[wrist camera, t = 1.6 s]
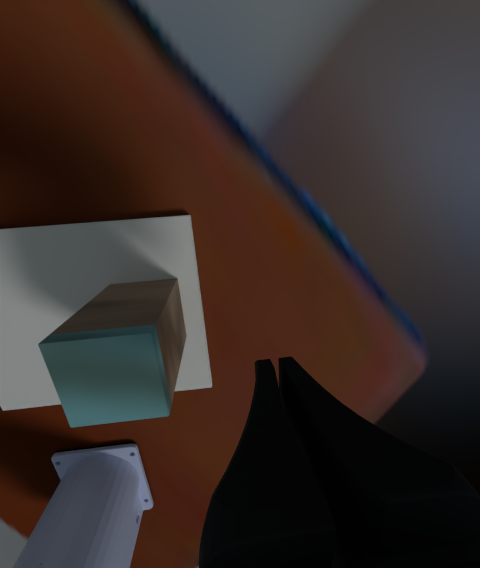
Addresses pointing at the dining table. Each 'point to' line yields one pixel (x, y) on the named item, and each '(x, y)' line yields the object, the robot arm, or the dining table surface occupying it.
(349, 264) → the dining table surface
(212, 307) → the dining table surface
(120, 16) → the dining table surface
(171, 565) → the dining table surface
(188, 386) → the mat
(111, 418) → the teal and wood block
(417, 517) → the robot arm
